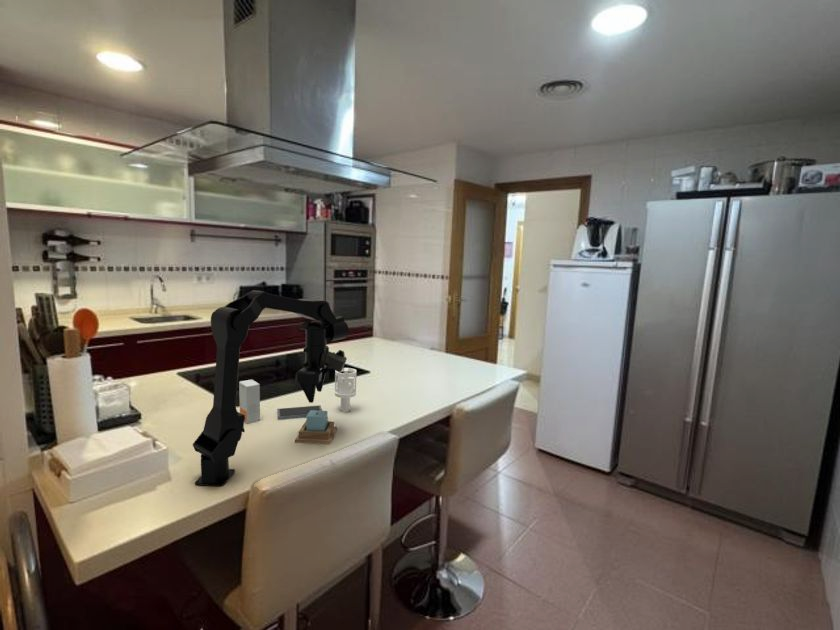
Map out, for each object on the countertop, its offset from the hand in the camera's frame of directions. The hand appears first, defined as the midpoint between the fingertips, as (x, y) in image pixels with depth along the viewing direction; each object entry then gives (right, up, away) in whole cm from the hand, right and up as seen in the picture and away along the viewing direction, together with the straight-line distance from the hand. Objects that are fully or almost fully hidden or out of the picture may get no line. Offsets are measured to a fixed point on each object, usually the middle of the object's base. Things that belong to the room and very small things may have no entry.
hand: (315, 396), depth 118 cm
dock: (0, -12, +2) cm, 12 cm away
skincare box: (-24, -10, +11) cm, 28 cm away
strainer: (+4, -9, +22) cm, 24 cm away
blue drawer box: (0, -11, +2) cm, 11 cm away
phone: (-10, -9, +17) cm, 22 cm away
